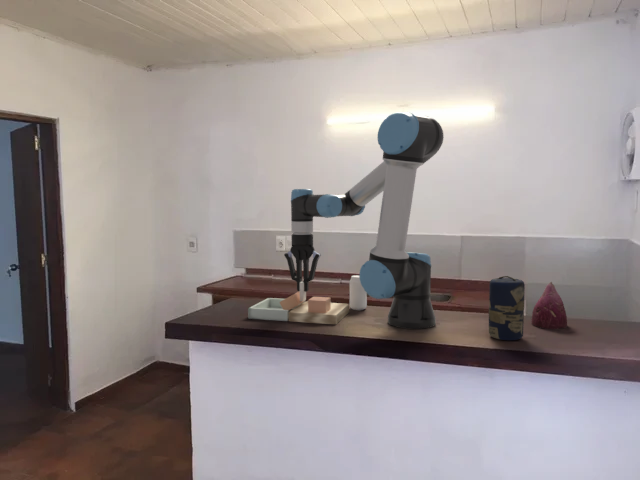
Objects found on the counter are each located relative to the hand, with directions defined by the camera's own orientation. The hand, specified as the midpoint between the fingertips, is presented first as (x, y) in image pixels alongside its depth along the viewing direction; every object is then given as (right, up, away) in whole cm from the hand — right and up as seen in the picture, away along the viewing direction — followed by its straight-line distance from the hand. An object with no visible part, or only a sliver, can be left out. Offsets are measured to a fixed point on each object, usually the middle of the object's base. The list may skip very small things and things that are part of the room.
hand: (302, 300), depth 182 cm
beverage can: (+20, -4, +6) cm, 21 cm away
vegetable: (+78, -6, -18) cm, 81 cm away
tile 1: (+6, -2, -10) cm, 12 cm away
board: (+6, -5, -6) cm, 9 cm away
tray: (-9, -5, -1) cm, 10 cm away
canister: (+60, -7, -33) cm, 68 cm away
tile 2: (-3, -2, +1) cm, 4 cm away
